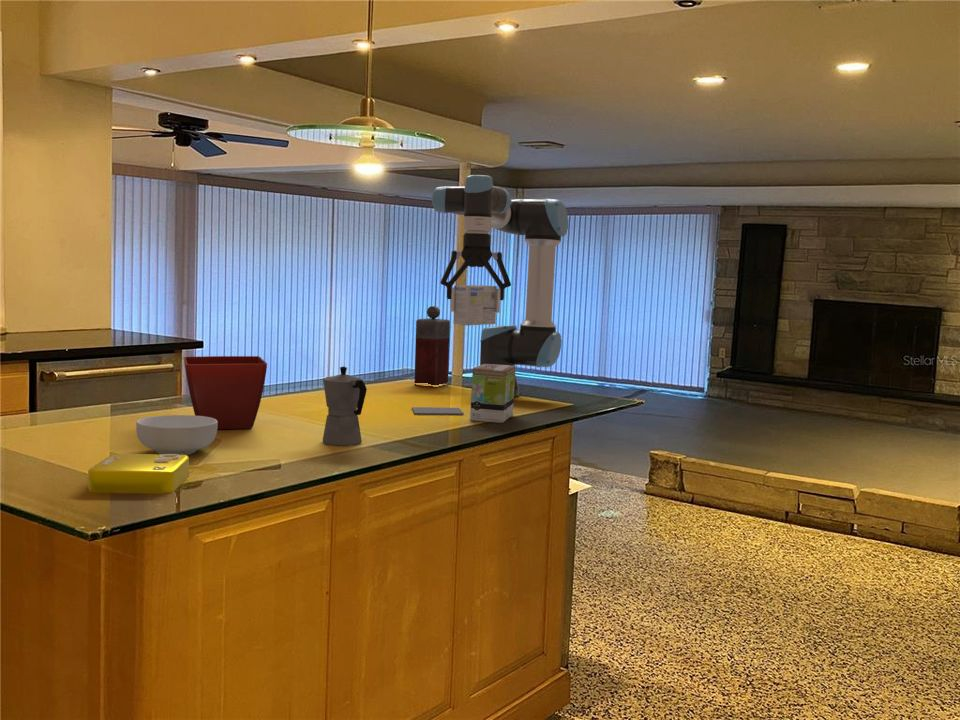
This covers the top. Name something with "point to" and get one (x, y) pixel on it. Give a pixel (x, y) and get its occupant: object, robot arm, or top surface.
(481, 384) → the tea box
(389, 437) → the top surface
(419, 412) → the rubber mat
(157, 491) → the element tile
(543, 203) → the robot arm
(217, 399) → the plant pot
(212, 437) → the cereal bowl
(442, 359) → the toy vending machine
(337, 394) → the coffeepot
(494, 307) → the light bulb box
